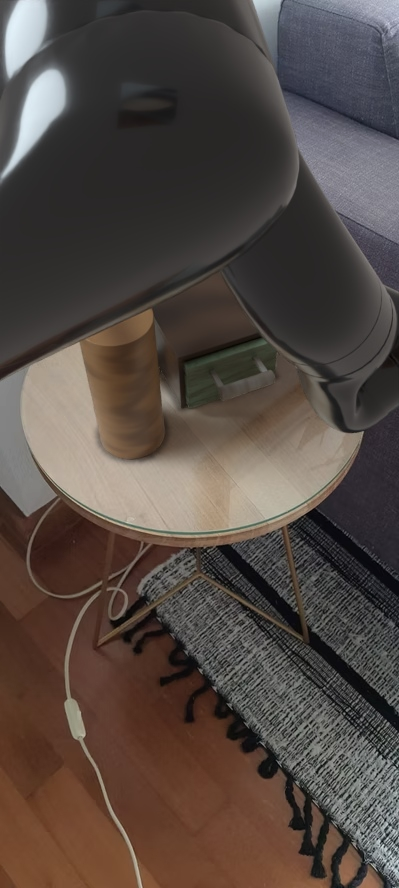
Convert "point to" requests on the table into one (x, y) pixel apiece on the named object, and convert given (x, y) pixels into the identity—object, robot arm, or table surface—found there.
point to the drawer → (229, 372)
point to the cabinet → (197, 328)
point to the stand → (126, 386)
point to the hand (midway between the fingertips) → (193, 146)
